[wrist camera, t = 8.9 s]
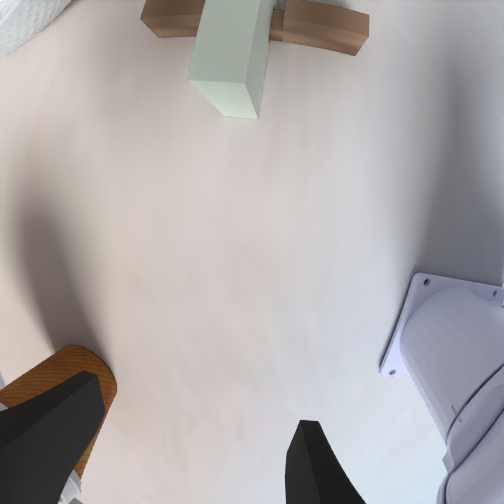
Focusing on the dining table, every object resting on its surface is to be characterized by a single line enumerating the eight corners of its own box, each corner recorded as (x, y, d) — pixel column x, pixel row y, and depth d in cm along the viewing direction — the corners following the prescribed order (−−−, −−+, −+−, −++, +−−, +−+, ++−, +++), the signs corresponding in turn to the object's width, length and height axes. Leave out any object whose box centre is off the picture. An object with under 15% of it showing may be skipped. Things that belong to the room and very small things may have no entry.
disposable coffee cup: (68, 306, 20) (-35, 391, 8) (154, 390, 21) (93, 508, 10) (37, 357, 22) (-35, 427, 10) (105, 423, 23) (54, 508, 12)
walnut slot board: (356, 36, 13) (369, 14, 10) (354, 55, 14) (368, 36, 11) (164, 19, 14) (146, -2, 11) (159, 37, 14) (140, 19, 11)
